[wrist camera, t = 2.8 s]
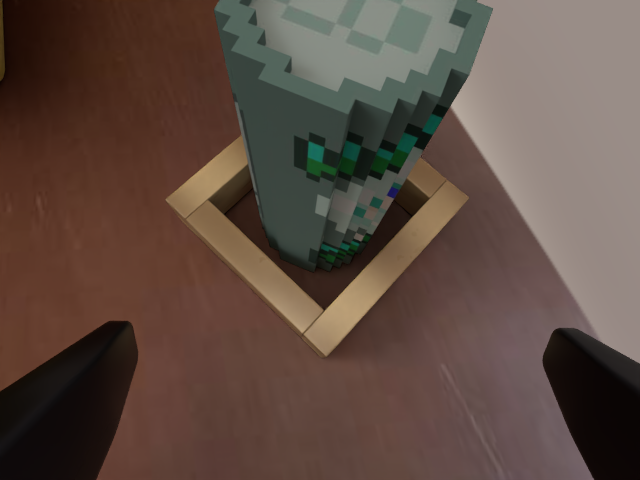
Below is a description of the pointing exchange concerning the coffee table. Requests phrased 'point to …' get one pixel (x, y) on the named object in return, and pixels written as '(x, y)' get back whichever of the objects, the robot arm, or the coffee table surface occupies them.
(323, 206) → the can
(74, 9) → the coffee table surface
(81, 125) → the coffee table surface
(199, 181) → the holder
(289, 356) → the coffee table surface
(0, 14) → the flower pot
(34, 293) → the coffee table surface
